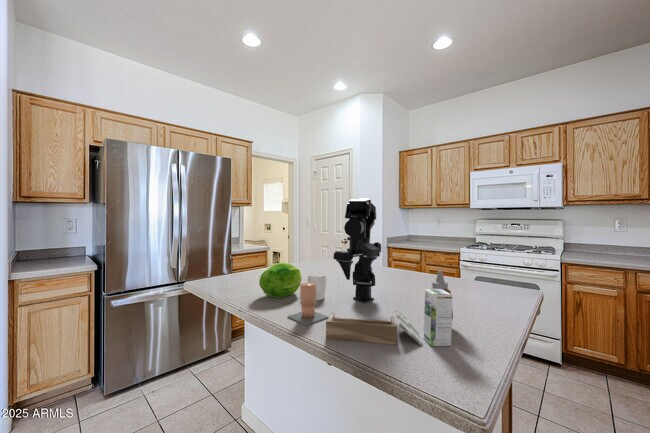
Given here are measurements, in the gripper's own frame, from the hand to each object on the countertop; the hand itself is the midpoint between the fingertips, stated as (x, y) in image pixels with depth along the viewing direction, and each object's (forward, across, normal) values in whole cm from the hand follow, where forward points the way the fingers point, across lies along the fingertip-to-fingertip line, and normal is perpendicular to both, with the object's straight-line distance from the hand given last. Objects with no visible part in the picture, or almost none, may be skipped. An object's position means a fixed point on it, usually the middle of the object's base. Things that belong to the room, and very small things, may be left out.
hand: (357, 277), depth 103 cm
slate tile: (+13, -16, +8) cm, 22 cm away
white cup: (+13, +1, +24) cm, 27 cm away
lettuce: (+13, -9, +36) cm, 39 cm away
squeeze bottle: (+13, +12, -25) cm, 31 cm away
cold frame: (+13, -8, -14) cm, 21 cm away
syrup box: (+13, +1, -30) cm, 33 cm away
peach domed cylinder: (+12, -16, +8) cm, 22 cm away
